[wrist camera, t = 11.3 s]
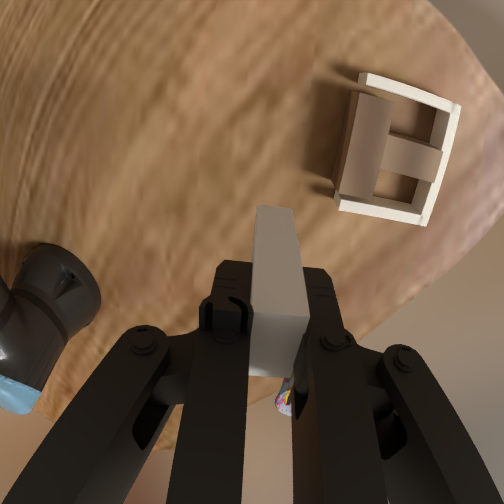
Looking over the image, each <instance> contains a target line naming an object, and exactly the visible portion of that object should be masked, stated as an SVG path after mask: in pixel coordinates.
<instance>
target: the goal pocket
mask: <svg viewBox="0 0 504 504" xmlns="http://www.w3.org/2000/svg"><path fill="white" fill-rule="evenodd" d="M358 84H361V85H365V86H369V87H373V88H376V89H380V90H383V91H386V92H390V93H393V94H396V95H399V96H402V97H405V98H408V99H411V100H414V101H417V102H420V103H423V104H426V105H428V106H431V107H434V108H436V109H437V111H436V116H435V120H434V125H433V129H432V133H431V137H430V141H429V144H431V145H432V146H434V147H436V148H438V149H440V150H441V151H443V155H442V159H441V162H440V166H439V169H438V173H437V176H436V179H435V182H434V183H432V182H428V181H425V180H421V179H419V181H418V184H417V187H416V191H415V194H414V197H413V200H412V203H411V204H409V203H404V202H400V201H395V200H391V199H386V198H381V197H376V196H372V199H371V200H370V199H365V198H360V197H355V196H349V195H344V194H338V192H337V190H335V194H334V201H335V203H336V205H337V208H338V210H341V211H347V212H353V213H358V214H364V215H369V216H375V217H380V218H386V219H391V220H396V221H401V222H406V223H411V224H416V225H421V226H427V223H428V220H429V217H430V215H431V212H432V209H433V206H434V203H435V200H436V198H437V195H438V192H439V188H440V185H441V182H442V179H443V176H444V173H445V169H446V166H447V162H448V159H449V155H450V152H451V148H452V144H453V140H454V136H455V132H456V128H457V124H458V120H459V115H460V111H461V106H460V105H457V104H455V103H453V102H451V101H448V100H446V99H443V98H441V97H438V96H436V95H433V94H431V93H428V92H426V91H423V90H420V89H418V88H415V87H412V86H409V85H406V84H403V83H400V82H397V81H394V80H391V79H388V78H384V77H381V76H378V75H374V74H371V73H359V78H358Z"/></svg>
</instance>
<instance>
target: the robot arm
mask: <svg viewBox="0 0 504 504" xmlns="http://www.w3.org/2000/svg"><path fill="white" fill-rule="evenodd" d="M100 306H101V295H100V290H99V287H98V285H97V283H96V281H95V279H94V277H93V276H92V274H91V273H90V271H89V270H88V269H87V268H86V266H85V265H84V264H83V263H82V262H81V261H80V260H79V259H78V258H76V257H75V256H74V255H73V254H71V253H70V252H68V251H67V250H65V249H63V248H61V247H58V246H55V245H51V244H42V245H38V246H36V247H34V248H33V249H32V250H31V251H30V252H29V253H28V254H27V255H26V256H25V258H24V259H23V261H22V263H21V266H20V271H19V272H18V274H17V276H16V278H15V281H14V283H13V286H12V288H11V290H9V288H8V287H7V285H6V284H5V282H4V280H3V279H2V277H1V275H0V407H2V408H3V409H5V410H8V411H10V412H12V413H15V414H19V415H24V414H27V413H29V412H30V411H31V410H32V408H33V406H34V404H35V403H36V401H37V399H38V398H39V396H41V395H42V390H43V388H44V386H45V384H46V382H47V380H48V378H49V376H50V374H51V372H52V370H53V368H54V366H55V364H56V362H57V361H58V359H59V357H60V355H61V353H62V351H63V350H64V348H65V346H66V344H67V342H68V341H69V340H70V339H71V338H72V337H73V336H74V335H76V334H77V333H78V332H79V331H80V330H81V329H82V328H84V327H86V326H88V325H89V324H90V323H91V322H92V321H93V320H94V318H95V316H96V315H97V313H98V311H99V309H100ZM292 371H293V373H294V383H293V385H292V388H291V391H290V393H289V396H288V399H287V403H286V405H290V403H291V417H292V451H293V504H388V500H389V503H390V504H504V503H503V501H502V498H501V496H500V494H499V492H498V490H497V488H496V486H495V484H494V482H493V480H492V478H491V476H490V473H489V472H488V470H487V468H486V466H485V464H484V462H483V460H482V458H481V456H480V454H479V452H478V450H477V448H476V447H475V445H474V443H473V441H472V439H471V437H470V436H469V434H468V432H467V430H466V429H465V427H464V425H463V423H462V422H461V420H460V418H459V416H458V415H457V413H456V411H455V410H454V408H453V406H452V405H451V403H450V401H449V400H448V398H447V396H446V395H445V393H444V391H443V390H442V388H441V387H440V385H439V383H438V382H437V380H436V378H435V377H434V375H433V374H432V372H431V371H430V369H429V367H428V366H427V364H426V363H425V361H424V360H423V358H422V357H421V356H420V355H419V353H418V352H417V351H416V350H414V349H412V348H411V347H409V346H406V345H402V344H395V345H392V346H390V347H388V348H387V349H386V350H385V352H384V353H380V352H377V351H374V350H370V349H367V348H364V347H362V346H360V345H358V344H357V343H356V341H355V339H354V337H353V335H352V334H351V333H350V332H349V331H347V330H346V329H344V326H343V322H342V317H341V313H340V309H339V306H338V302H337V298H336V294H335V290H334V286H333V283H332V279H331V277H330V276H329V275H328V274H327V273H326V271H325V270H324V269H319V268H310V267H302V261H301V255H300V249H299V243H298V238H297V232H296V226H295V221H294V215H293V210H292V208H284V207H276V206H267V205H258V204H257V212H256V221H255V229H254V238H253V246H252V255H251V262H242V261H232V260H224V261H223V262H222V263H221V264H220V265H219V266H218V267H217V268H216V273H215V277H214V282H213V287H212V290H211V295H210V296H208V297H207V298H205V299H204V300H203V301H202V302H201V304H200V306H199V328H197V329H196V330H195V331H192V332H190V333H188V334H183V335H176V336H167V335H166V334H165V333H164V331H162V330H160V329H159V328H157V327H154V326H149V325H141V326H135V327H133V328H131V329H128V330H127V331H126V332H125V333H124V334H122V335H121V337H120V338H119V339H118V341H117V342H116V343H115V344H114V346H113V347H112V348H111V349H110V351H109V352H108V353H107V355H106V356H105V357H104V358H103V360H102V361H101V362H100V364H99V365H98V366H97V368H96V369H95V370H94V371H93V373H92V374H91V375H90V377H89V378H88V379H87V381H86V382H85V383H84V385H83V386H82V387H81V389H80V390H79V391H78V393H77V394H76V395H75V397H74V398H73V399H72V401H71V402H70V404H69V405H68V406H67V408H66V409H65V410H64V412H63V413H62V415H61V416H60V417H59V419H58V420H57V421H56V423H55V424H54V426H53V427H52V429H51V430H50V431H49V433H48V434H47V436H46V437H45V438H44V440H43V441H42V443H41V444H40V446H39V447H38V449H37V450H36V452H35V453H34V454H33V456H32V458H31V459H30V460H29V462H28V463H27V465H26V466H25V468H24V469H23V471H22V472H21V474H20V475H19V477H18V479H17V480H16V482H15V483H14V485H13V486H12V488H11V489H10V491H9V492H8V494H7V496H6V497H5V499H4V500H3V502H2V504H123V502H124V500H125V499H126V497H127V495H128V493H129V491H130V489H131V487H132V486H133V484H134V482H135V480H136V478H137V476H138V474H139V472H140V471H141V469H142V467H143V465H144V463H145V461H146V460H147V458H148V456H149V454H150V452H151V450H152V448H153V447H154V445H155V443H156V441H157V439H158V437H159V435H160V434H161V432H162V430H163V428H164V426H165V424H166V422H167V421H168V419H169V417H170V415H171V413H172V411H173V409H174V407H175V406H176V405H177V404H184V406H183V411H182V416H181V421H180V427H179V432H178V437H177V443H176V448H175V453H174V459H173V465H172V470H171V476H170V482H169V488H168V494H167V500H166V504H241V498H242V480H243V464H244V447H245V429H246V412H247V394H248V377H249V375H253V376H265V377H280V378H290V377H291V374H292ZM387 498H388V500H387Z"/></svg>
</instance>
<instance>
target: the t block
mask: <svg viewBox="0 0 504 504" xmlns="http://www.w3.org/2000/svg"><path fill="white" fill-rule="evenodd" d="M394 105H395V102H393V101H389V100H386V99H383V98H379V97H376V96H372V95H368V94H364V93H361V92H356V91H351V90H349V94H348V100H347V106H346V111H345V116H344V121H343V127H342V132H341V137H340V142H339V146H338V151H337V156H336V161H335V165H334V170H333V174H332V179H331V180H332V182H333V184H334V186H335V188H336V190H337V192H338V194H344V195H349V196H355V197H360V198H365V199H370V200H371V199H372V196H373V192H374V189H375V185H376V181H377V178H378V174H379V170H380V169H381V170H385V171H390V172H394V173H398V174H402V175H406V176H410V177H413V178H417V179H421V180H425V181H428V182H432V183H434V182H435V179H436V176H437V173H438V169H439V166H440V162H441V159H442V155H443V151H441V150H440V149H438V148H436V147H434V146H432V145H431V144H429V143H427V142H424V141H421V140H418V139H415V138H412V137H408V136H405V135H401V134H398V133H395V132H391V131H389V129H390V124H391V120H392V115H393V110H394Z"/></svg>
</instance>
